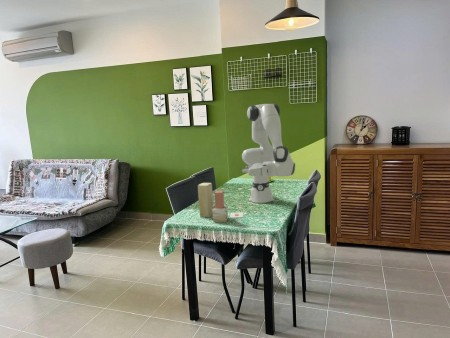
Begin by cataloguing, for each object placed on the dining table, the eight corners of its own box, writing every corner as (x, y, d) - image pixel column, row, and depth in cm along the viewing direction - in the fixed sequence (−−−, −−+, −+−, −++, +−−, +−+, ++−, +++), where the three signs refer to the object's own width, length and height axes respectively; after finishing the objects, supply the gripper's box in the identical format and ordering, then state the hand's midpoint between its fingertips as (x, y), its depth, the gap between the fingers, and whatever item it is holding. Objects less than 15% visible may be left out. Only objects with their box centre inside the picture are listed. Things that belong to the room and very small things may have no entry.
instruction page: (230, 212, 224) (230, 212, 224) (242, 212, 223) (242, 211, 223) (230, 217, 214) (230, 217, 214) (243, 217, 214) (243, 216, 214)
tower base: (215, 217, 216) (214, 205, 215) (227, 217, 215) (227, 205, 213) (213, 221, 208) (212, 209, 207) (225, 221, 207) (225, 209, 205)
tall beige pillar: (204, 212, 227) (201, 182, 223) (214, 213, 224) (212, 182, 220) (198, 216, 220) (196, 185, 216) (209, 217, 217) (206, 185, 213)
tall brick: (217, 206, 213) (216, 190, 211) (224, 206, 212) (223, 190, 210) (215, 208, 209) (214, 192, 207) (222, 208, 207) (221, 192, 206)
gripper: (268, 160, 208) (246, 161, 211) (264, 166, 188) (239, 167, 192) (269, 170, 209) (247, 170, 212) (264, 177, 189) (240, 178, 193)
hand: (243, 169), depth 202 cm, fingers open, 8 cm apart
